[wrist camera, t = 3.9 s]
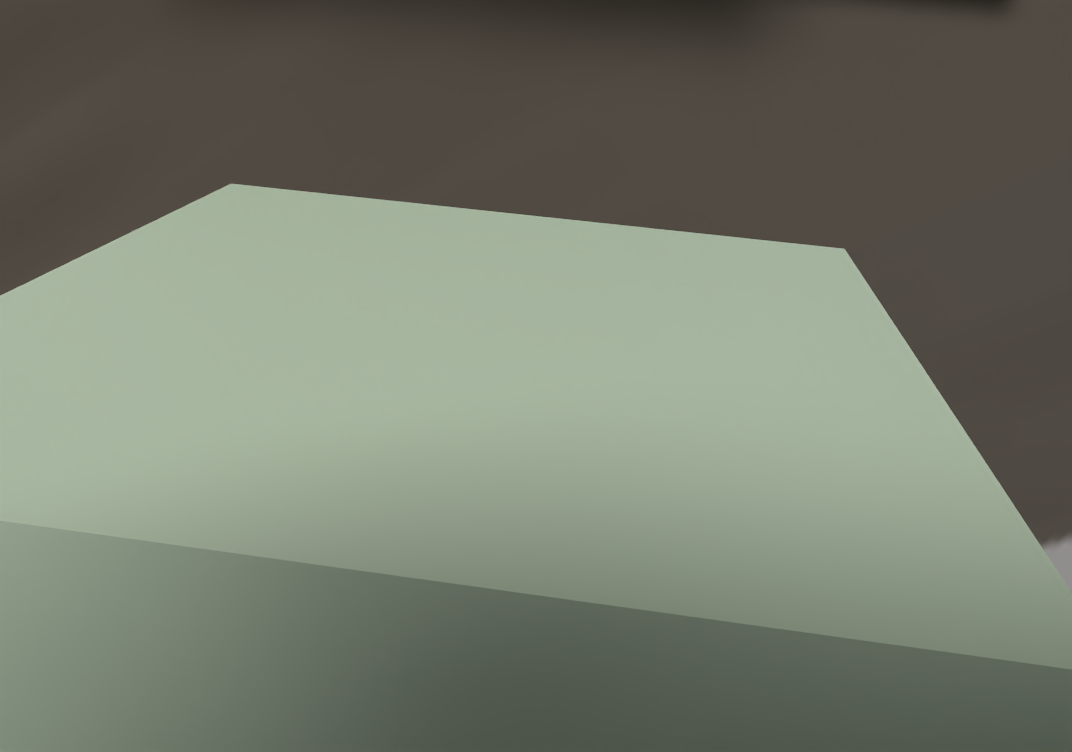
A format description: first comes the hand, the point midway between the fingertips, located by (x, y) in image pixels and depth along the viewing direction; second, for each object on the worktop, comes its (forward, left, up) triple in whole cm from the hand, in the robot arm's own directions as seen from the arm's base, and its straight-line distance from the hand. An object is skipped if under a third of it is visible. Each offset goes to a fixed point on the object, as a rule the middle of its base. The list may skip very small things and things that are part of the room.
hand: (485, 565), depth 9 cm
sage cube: (0, 0, -2) cm, 2 cm away
